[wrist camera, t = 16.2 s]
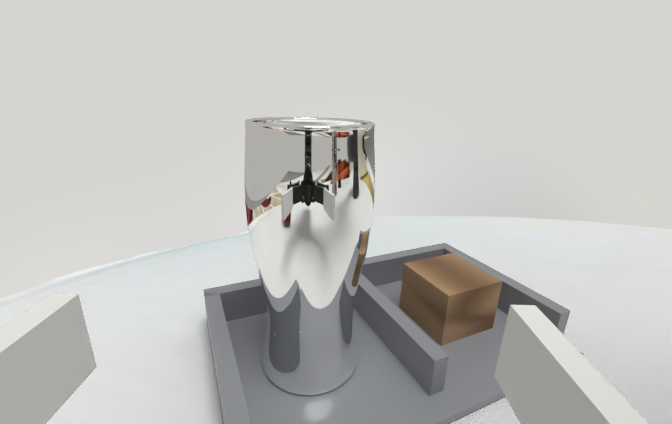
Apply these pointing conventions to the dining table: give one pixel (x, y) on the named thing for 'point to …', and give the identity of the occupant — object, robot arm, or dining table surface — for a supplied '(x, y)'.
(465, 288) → the walnut block
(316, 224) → the beer glass
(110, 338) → the dining table surface
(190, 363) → the dining table surface
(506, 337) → the robot arm
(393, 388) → the tray
